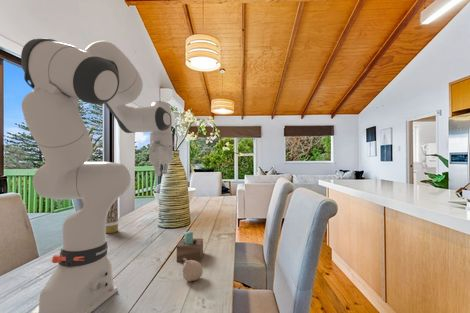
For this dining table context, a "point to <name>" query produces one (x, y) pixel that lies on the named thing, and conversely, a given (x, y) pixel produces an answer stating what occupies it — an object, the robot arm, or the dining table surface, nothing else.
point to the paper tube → (112, 218)
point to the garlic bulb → (192, 270)
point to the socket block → (190, 250)
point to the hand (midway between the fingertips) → (161, 175)
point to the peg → (189, 237)
